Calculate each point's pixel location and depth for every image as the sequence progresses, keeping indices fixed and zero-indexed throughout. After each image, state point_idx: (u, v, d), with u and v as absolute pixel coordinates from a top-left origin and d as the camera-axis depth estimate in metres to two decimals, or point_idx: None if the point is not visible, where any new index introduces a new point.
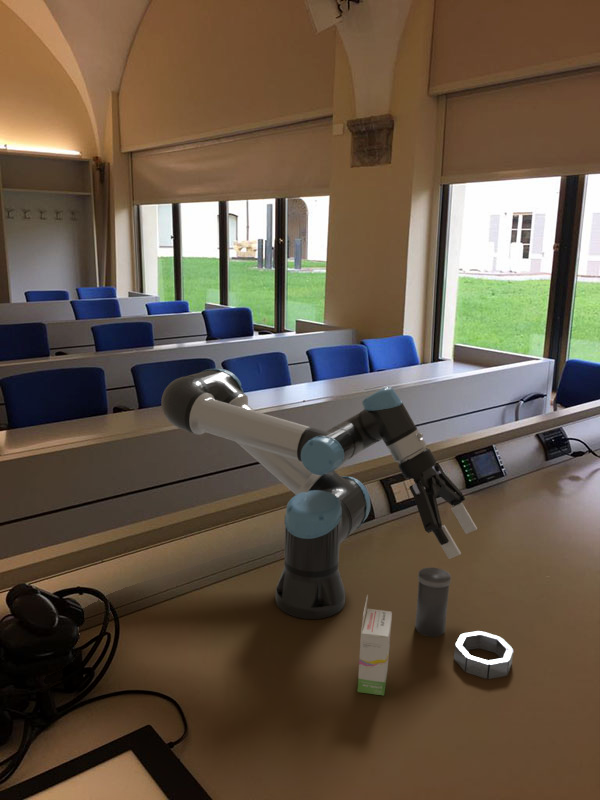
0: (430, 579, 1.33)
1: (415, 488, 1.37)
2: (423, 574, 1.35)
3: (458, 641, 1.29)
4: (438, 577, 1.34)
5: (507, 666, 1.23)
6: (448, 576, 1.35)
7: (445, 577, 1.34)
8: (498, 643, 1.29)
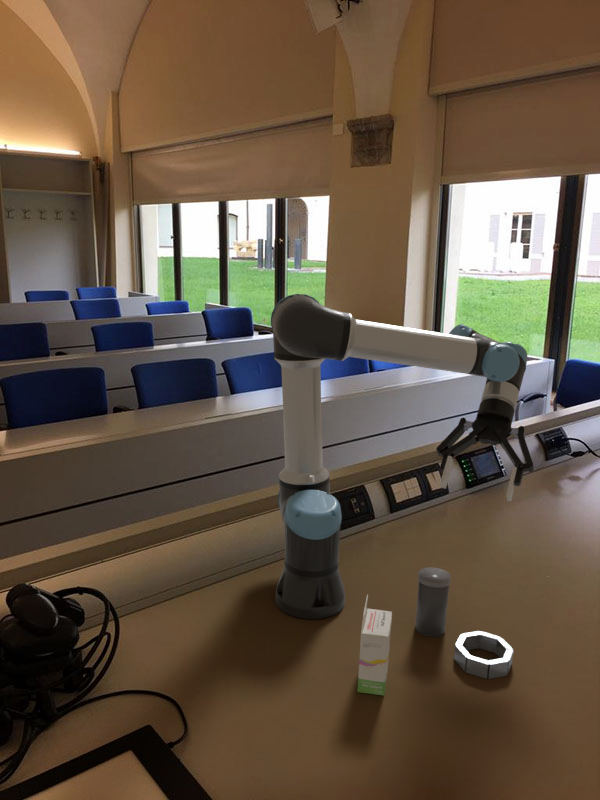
0: (430, 579, 1.33)
1: (524, 432, 1.43)
2: (423, 574, 1.35)
3: (458, 641, 1.29)
4: (438, 577, 1.34)
5: (507, 666, 1.23)
6: (448, 576, 1.35)
7: (445, 577, 1.34)
8: (498, 643, 1.29)
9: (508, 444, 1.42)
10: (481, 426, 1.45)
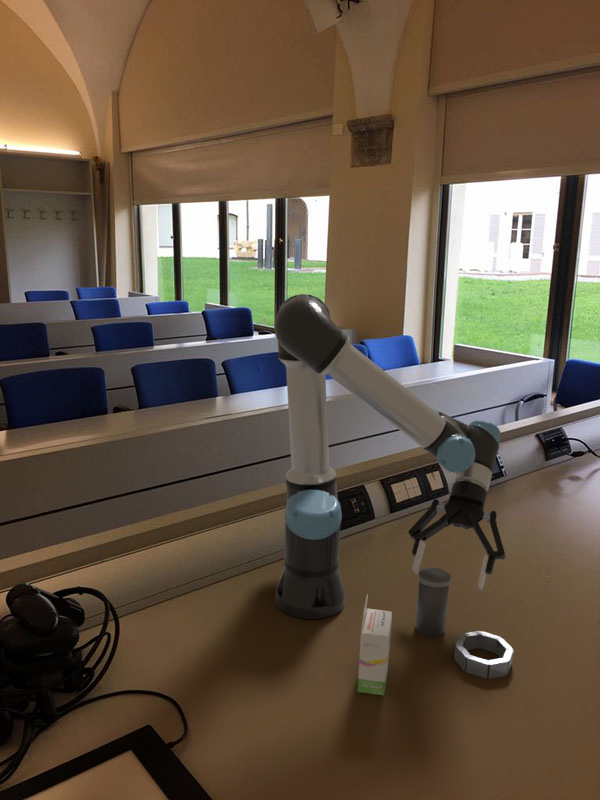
0: (430, 579, 1.33)
1: (496, 517, 1.42)
2: (423, 574, 1.35)
3: (458, 641, 1.29)
4: (438, 577, 1.34)
5: (507, 666, 1.23)
6: (448, 576, 1.35)
7: (445, 577, 1.34)
8: (498, 643, 1.29)
9: (480, 530, 1.41)
10: (453, 510, 1.44)
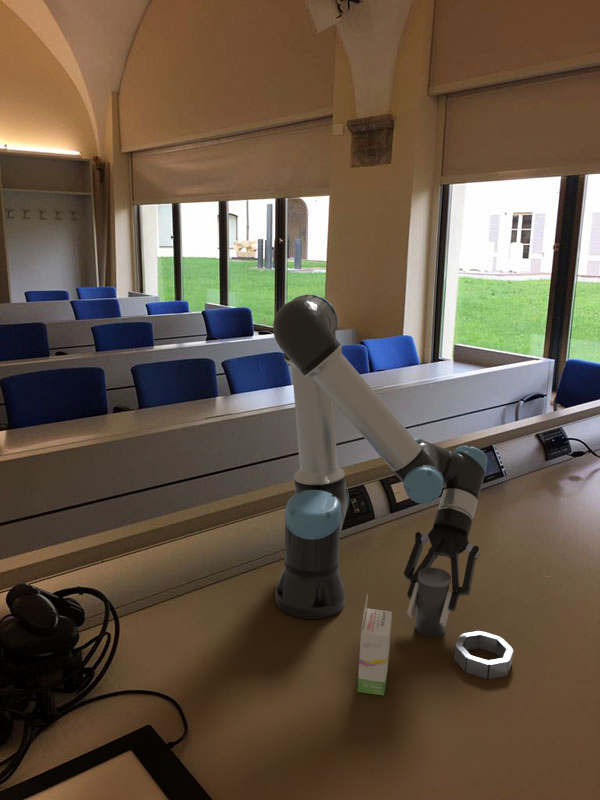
0: (430, 579, 1.33)
1: (478, 553, 1.38)
2: (423, 574, 1.35)
3: (458, 641, 1.29)
4: (438, 577, 1.34)
5: (507, 666, 1.23)
6: (448, 575, 1.35)
7: (445, 577, 1.34)
8: (498, 643, 1.29)
9: (455, 562, 1.37)
10: (438, 539, 1.40)
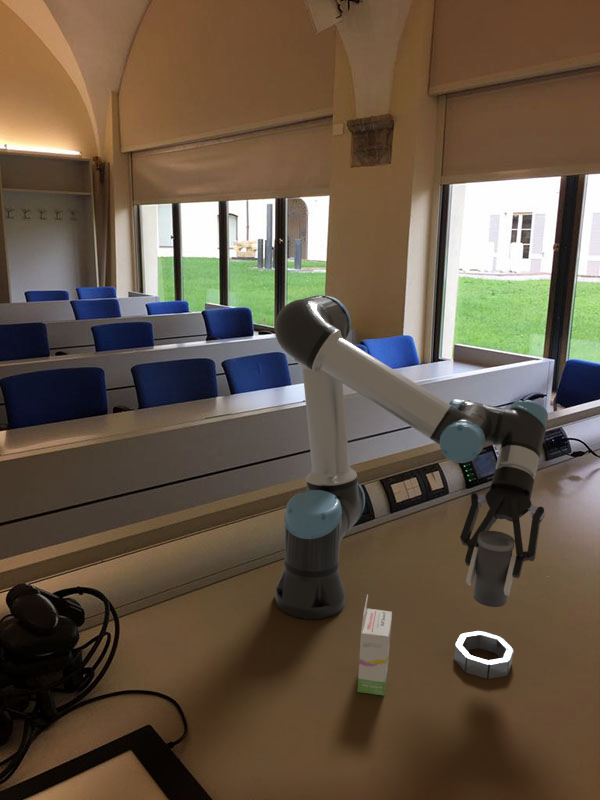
0: (492, 542, 1.20)
1: (543, 514, 1.24)
2: (483, 537, 1.22)
3: (458, 641, 1.29)
4: (501, 540, 1.21)
5: (507, 666, 1.23)
6: (511, 539, 1.22)
7: (508, 540, 1.21)
8: (498, 643, 1.29)
9: (518, 525, 1.24)
10: (497, 500, 1.27)
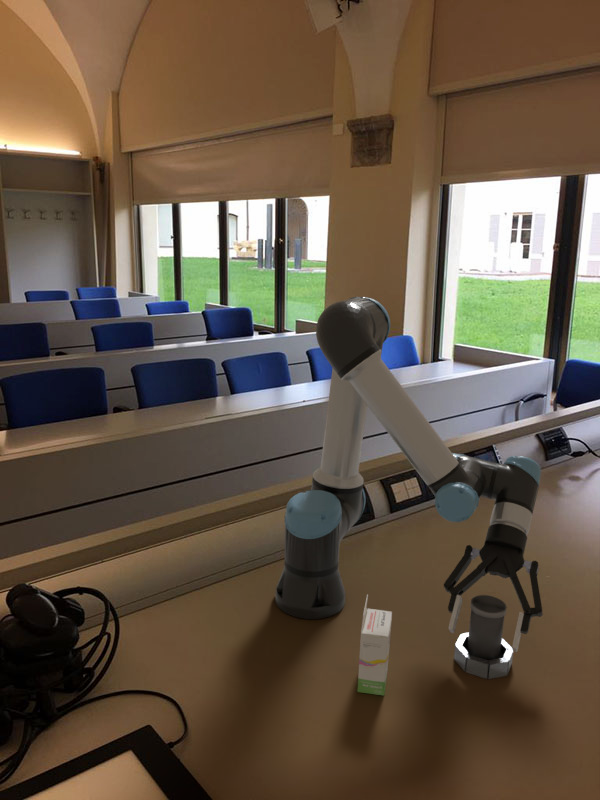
0: (484, 609, 1.23)
1: (538, 568, 1.28)
2: (476, 603, 1.25)
3: (458, 641, 1.29)
4: (493, 606, 1.24)
5: (507, 666, 1.23)
6: (503, 605, 1.25)
7: (500, 606, 1.24)
8: None
9: (518, 581, 1.26)
10: (490, 557, 1.30)
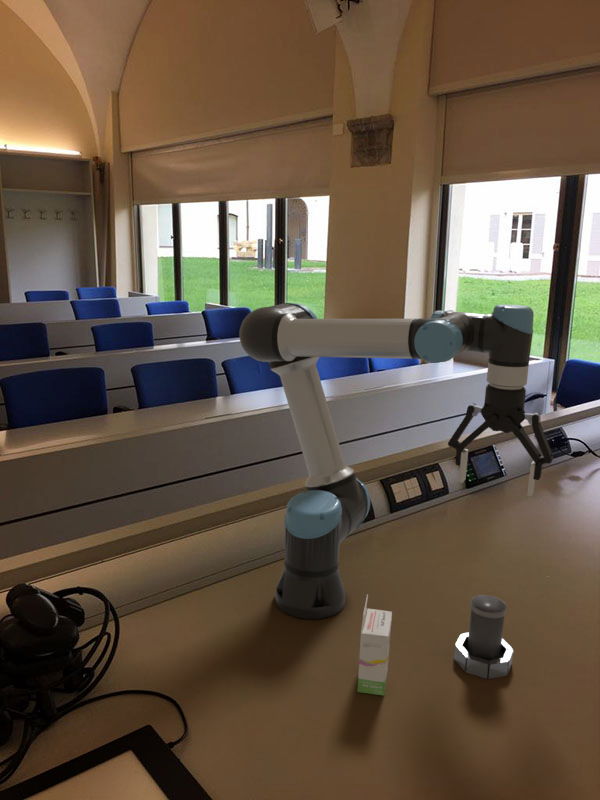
0: (484, 609, 1.23)
1: (539, 418, 1.30)
2: (476, 603, 1.25)
3: (458, 641, 1.29)
4: (493, 606, 1.24)
5: (507, 666, 1.23)
6: (503, 604, 1.25)
7: (500, 606, 1.24)
8: None
9: (523, 437, 1.31)
10: (491, 419, 1.32)
